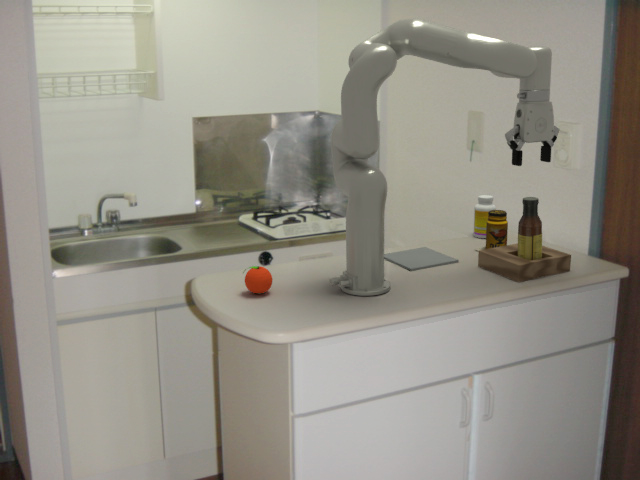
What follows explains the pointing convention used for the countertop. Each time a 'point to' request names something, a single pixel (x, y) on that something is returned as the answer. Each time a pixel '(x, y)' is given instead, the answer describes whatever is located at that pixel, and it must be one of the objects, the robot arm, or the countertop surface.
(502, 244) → the condiment
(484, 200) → the supplement bottle
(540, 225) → the sauce bottle
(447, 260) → the rubber mat
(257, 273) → the clementine
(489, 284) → the countertop surface
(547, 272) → the socket block
